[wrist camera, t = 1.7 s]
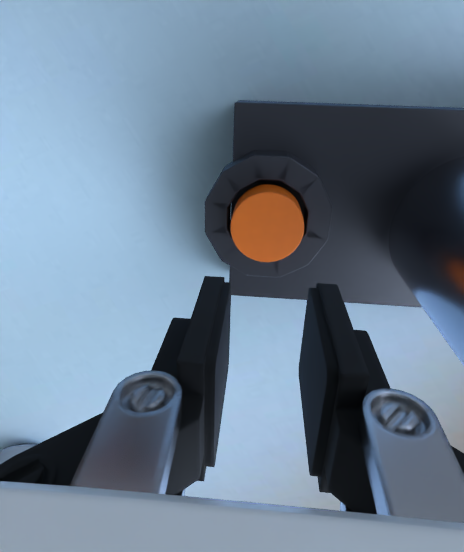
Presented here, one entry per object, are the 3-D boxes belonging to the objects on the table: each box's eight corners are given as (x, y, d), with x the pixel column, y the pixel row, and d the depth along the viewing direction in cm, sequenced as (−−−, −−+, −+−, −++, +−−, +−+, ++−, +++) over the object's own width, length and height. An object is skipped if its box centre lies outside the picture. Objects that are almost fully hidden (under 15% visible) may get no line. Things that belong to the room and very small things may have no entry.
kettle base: (215, 272, 28) (204, 308, 23) (217, 99, 23) (204, 102, 18) (471, 287, 27) (512, 328, 22) (529, 110, 22) (597, 116, 17)
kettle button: (232, 248, 22) (229, 260, 20) (234, 182, 20) (231, 190, 19) (298, 251, 22) (300, 264, 20) (305, 185, 20) (308, 193, 18)
